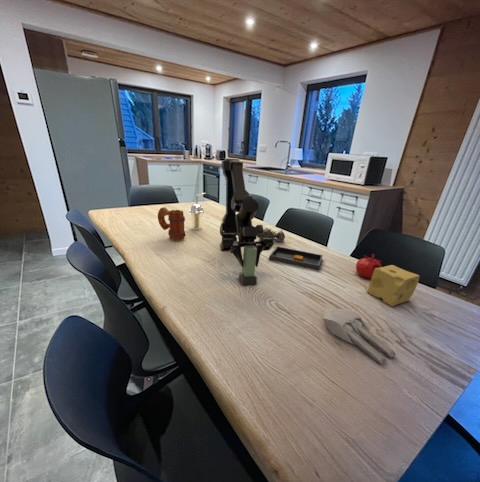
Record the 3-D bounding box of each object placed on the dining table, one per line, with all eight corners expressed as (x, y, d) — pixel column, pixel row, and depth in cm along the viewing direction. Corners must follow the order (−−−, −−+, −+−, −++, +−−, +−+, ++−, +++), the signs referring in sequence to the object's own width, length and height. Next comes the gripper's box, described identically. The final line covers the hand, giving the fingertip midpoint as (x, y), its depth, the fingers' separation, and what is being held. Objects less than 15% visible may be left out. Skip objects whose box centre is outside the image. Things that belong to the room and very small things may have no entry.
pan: (268, 260, 115) (269, 255, 114) (276, 251, 127) (277, 246, 125) (318, 271, 109) (319, 265, 108) (321, 260, 120) (322, 255, 119)
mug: (189, 238, 134) (189, 209, 128) (181, 243, 127) (180, 212, 121) (164, 233, 138) (163, 205, 132) (155, 238, 131) (153, 208, 125)
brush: (243, 285, 94) (246, 250, 88) (238, 279, 98) (241, 245, 92) (256, 284, 95) (259, 249, 89) (251, 278, 99) (254, 244, 94)
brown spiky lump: (290, 240, 133) (267, 223, 128) (276, 255, 137) (253, 240, 132) (285, 232, 143) (264, 216, 138) (272, 246, 147) (251, 231, 142)
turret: (372, 374, 63) (381, 361, 60) (313, 319, 76) (318, 307, 74) (394, 359, 68) (403, 346, 66) (335, 310, 81) (340, 298, 79)
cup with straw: (189, 226, 153) (189, 190, 145) (205, 226, 155) (205, 191, 146) (188, 230, 146) (188, 193, 137) (205, 231, 147) (205, 194, 138)
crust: (293, 260, 116) (294, 257, 116) (295, 257, 119) (295, 254, 119) (301, 262, 115) (302, 258, 114) (302, 259, 118) (303, 256, 117)
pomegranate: (350, 274, 108) (355, 253, 104) (359, 268, 115) (364, 248, 111) (374, 283, 103) (382, 261, 98) (382, 276, 109) (389, 255, 105)
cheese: (392, 307, 87) (402, 280, 83) (365, 291, 96) (373, 267, 91) (410, 301, 92) (421, 275, 88) (383, 287, 100) (391, 263, 96)
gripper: (223, 215, 88) (227, 259, 83) (275, 216, 92) (283, 257, 87) (218, 231, 98) (222, 270, 93) (266, 230, 102) (272, 268, 97)
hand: (249, 266), depth 92 cm, fingers open, 5 cm apart
